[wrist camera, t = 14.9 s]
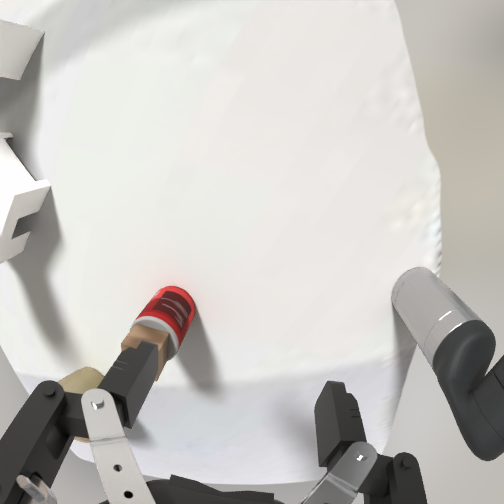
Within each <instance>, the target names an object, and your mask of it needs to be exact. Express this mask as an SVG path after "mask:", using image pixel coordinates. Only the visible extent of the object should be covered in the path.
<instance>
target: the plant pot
mask: <svg viewBox="0 0 504 504" xmlns="http://www.w3.org/2000/svg"><path fill="white" fill-rule="evenodd" d="M103 378H104V376H103V375H102V374H101V373H100V372H98V371H97V370H96V369H94V368H91V367H84V368H82V369H80V370H78V371H76V372H74V373H72V374H70V375H68V376H66V377H65V378H63V379H61V380H60V381H58V383H59V384H60V385H61V386H62V387H63V389H64V391H66V392H72V393H78V394H84V393H85V392H86V391H88V390H91V389H96V388H97V387H98V386H99V384H100V383H101V381H102V380H103ZM74 439H75V440H77V441H80V442H84V443H90V439H88V438H81V437H76V436H75V438H74Z"/></svg>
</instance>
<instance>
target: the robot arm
mask: <svg viewBox="0 0 504 504" xmlns="http://www.w3.org/2000/svg"><path fill="white" fill-rule="evenodd" d="M392 303H393V306H394V308H395V309H396V311H397V312H398V314H399V315H400V317H401V318H402V320H403V322H404V323H405V325H406V326H407V328H408V329H409V331H410V333H411V334H412V336H413V337H414V339H415V341H416V342H417V344H418V346H419V347H420V349H421V350H422V352H423V354H424V355H425V357H426V359H427V360H428V362H429V364H430V365H431V367H432V369H433V371H434V372H435V374H436V376H437V379H438V382H439V384H440V387H441V389H442V390H443V392H444V394H445V396H446V398H447V401H448V403H449V405H450V408H451V410H452V412H453V415H454V417H455V420H456V423H457V425H458V427H459V429H460V432H461V434H462V436H463V438H464V440H465V442H466V444H467V446H468V447H469V448H470V450H471V451H472V452H473V453H474V455H475V456H477V457H478V458H480V459H481V460H485V461H491V460H494V459H496V458H497V457H498V456H499V455H501V454H502V453H503V452H504V355H503V356H502V357H501V359H500V360H499V361H498V362H497V363H496V364H495V366H494V367H493V368H492V369H491V370H490V371H489V372H488V374H487V375H486V376H485V374H486V371H487V369H488V367H489V365H490V362H491V360H492V358H493V355H494V352H495V345H496V341H495V336H494V334H493V332H492V331H491V329H490V328H489V327H488V326H487V325H486V324H485V323H484V322H483V321H482V320H481V319H480V318H479V317H478V316H477V315H476V314H475V313H474V312H473V311H472V310H471V309H470V308H469V307H468V306H467V305H466V304H465V303H464V302H463V301H462V300H461V299H460V298H459V297H458V296H457V295H456V294H455V293H454V292H453V291H452V290H451V289H450V288H449V287H448V286H446V285H445V284H444V283H443V282H442V281H441V280H440V279H439V278H438V277H437V276H436V275H435V274H434V273H432V272H431V271H430V270H428V269H427V268H423V267H417V268H413V269H411V270H409V271H407V272H406V273H404V274H403V275H402V276H401V277H400V278H399V279H398V281H397V282H396V284H395V286H394V288H393V292H392ZM157 372H158V344H155V343H151V342H148V341H145V340H142V341H141V342H140V344H139V345H138V347H137V349H135V348H132V347H129V348H127V349H126V350H124V351H122V352H121V354H120V355H119V356H118V358H117V360H116V361H115V362H114V364H113V366H112V367H111V368H110V369H109V371H108V372H107V374H106V375H105V377H104V378H103V380H102V381H101V383H100V384H99V386H98V387H97V388H96V389H91V390H88V391H86V392H85V393H84V394H78V393H72V392H66V391H64V389H63V387H62V386H61V385H60V384H59V383H58V382H55V381H51V380H48V381H44V382H41V383H40V384H39V385H38V386H37V387H36V388H35V390H34V391H33V393H32V394H31V395H30V397H29V398H28V400H27V401H26V402H25V404H24V405H23V407H22V408H21V410H20V411H19V412H18V414H17V415H16V417H15V418H14V420H13V421H12V423H11V424H10V426H9V427H8V429H7V430H6V432H5V434H4V435H3V437H2V438H1V440H0V504H57V499H56V496H55V494H54V493H53V492H52V490H51V489H50V488H51V486H52V484H53V481H54V479H55V477H56V475H57V473H58V470H59V469H60V466H61V464H62V462H63V460H64V458H65V456H66V454H67V452H68V450H69V448H70V446H71V444H72V442H73V440H74V438H75V436H76V437H81V438H88V439H90V446H91V450H92V453H93V457H94V460H95V463H96V467H97V470H98V473H99V476H100V479H101V482H102V485H103V487H104V490H105V493H106V495H107V498H108V500H106V501H104V502H102V503H99V504H284V503H282V502H280V501H278V500H275V499H274V494H273V493H265V492H256V491H235V492H221V491H218V490H216V489H213V488H211V487H209V486H206V485H204V484H202V483H200V482H198V481H195V480H191V479H187V478H183V477H179V476H175V475H172V474H171V477H170V480H167V479H164V480H163V479H161V480H152V481H148V482H145V480H144V478H143V476H142V474H141V471H140V469H139V467H138V464H137V462H136V459H135V457H134V455H133V452H132V450H131V447H130V444H129V442H128V439H127V437H126V436H125V434H124V431H123V428H124V426H125V427H128V428H130V429H131V428H132V426H133V424H134V422H135V420H136V417H137V415H138V413H139V411H140V409H141V407H142V405H143V403H144V401H145V399H146V397H147V395H148V393H149V391H150V389H151V387H152V385H153V383H154V381H155V378H156V376H157ZM484 376H485V377H484ZM314 413H315V424H316V435H317V447H318V459H319V467H327V473H326V474H325V475H324V476H323V477H322V479H321V480H320V481H319V482H318V483H317V485H316V486H315V487H314V488H313V489H312V490H311V491H310V492H309V493H308V494H307V496H306V497H305V498H304V499H303V500H302V501H301V502H300V503H299V504H351V503H352V502H353V500H354V499H355V497H356V496H357V494H358V492H360V493H363V494H364V504H427V499H426V494H425V490H424V485H423V481H422V476H421V472H420V468H419V464H418V461H417V459H416V458H415V457H414V456H413V455H411V454H409V453H406V452H403V453H399V454H397V455H396V456H395V457H394V458H393V457H388V456H384V455H380V454H378V453H377V452H376V450H375V448H374V447H373V446H372V445H371V444H369V443H367V440H366V436H365V432H364V427H363V423H362V419H361V415H360V411H359V407H358V403H357V400H356V399H355V398H354V396H353V395H352V394H351V393H346V389H345V385H344V383H343V382H336V381H327V382H326V384H325V386H324V388H323V390H322V392H321V394H320V396H319V398H318V399H317V401H316V404H315V410H314Z"/></svg>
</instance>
